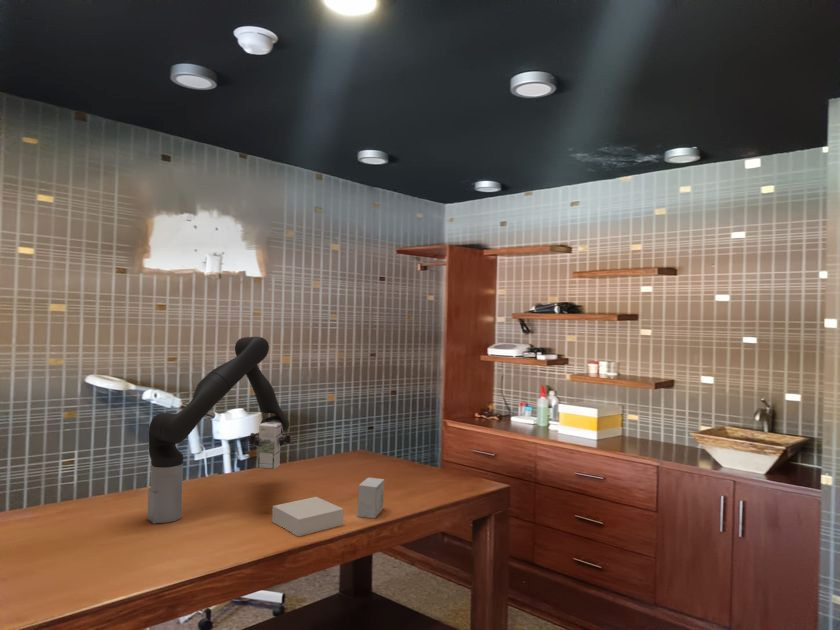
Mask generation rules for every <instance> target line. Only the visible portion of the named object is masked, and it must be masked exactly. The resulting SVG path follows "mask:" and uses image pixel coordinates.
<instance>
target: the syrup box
mask: <svg viewBox="0 0 840 630" xmlns="http://www.w3.org/2000/svg"><path fill="white" fill-rule="evenodd" d="M258 435H259V446H258V453H257V454H258V458H257V468H258V469H264V470H275V469H277V468H278V467H279V466H280V465H281V463H280V462H281V459H280V457H281V446H280V437H281V423H268V422H265V423H262V424H261V423H260V424H259V426H258Z"/></svg>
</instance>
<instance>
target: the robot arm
mask: <svg viewBox="0 0 840 630" xmlns="http://www.w3.org/2000/svg"><path fill="white" fill-rule="evenodd" d="M269 351H270V345H269V342H268V341H267V339H265V338H264V337H261V336H247V337H241V338H239V339H238V340H237V341H236V343H235V346H234V353H235V357H234V358H232V359H230V360H229V361H227V362H225V363H223V364H221V365H219V366H217V367H216V368H214V369H212V370H211V371H210V372H208V373H207V374H206V376H204V377H203V378H202V379H201V380H200V381H199V382H198V383H197V386H196V388H195V390H194V392H193V396H192V399H191V401H189V403H188V404H187V405H186V406H185V407H184V408H182V409H181V410H180V411H178V412H177V413H171V412H160V413H157V414H156V415H154V416H153V418H152V419H151V421H150V423H149V428H148V455H149V457H150V460H151V467H150V469H151V470H150V487H149V488H148V490H147V491H148V492H147V493H148V494H147V518H146V519H147V520H148V521H150V522H151V523H152V524H154V525H155V524H164V523H165V524H166V523H167V524H168V523H172V522H176V521H178V520H180V519H181V518H182V508H183V507H182V503H183V501H182V500H183V475H184V454H183V453H182V452H181V451H180V450H179V449H178V448H177V446H176V445H177V444H179V443H181V442H183V441H185V440H186V439H187V438H188V436H189V435H190V434H191V433H192V432H193V430H194V429H195V428H196V427H197V425H198V424H199V423H200V422H201V420H203V418H204V417H205V416H206V415H207V414H208V413H209V412H210V411H211V410H212V408H214V407H215V406H216V405H217V404H218V403H219V402H220V401H221V400H222V399H223V398H224V397H225V396H226V395H227V394H228V393H229V392H230V391H231V389H232V388H233V387H235V386H236V384H237V383H239V382H240V381H241V380H242V379H243V378H244V377H245V376H246V377H247V379H248V381H249V384H250V385H251V387H252V391H253V393H254V395H255V398H256V401H257V405H258V408H259V411H260V412H261V413H262V414H273V415H271V416H268V417H266V418H265V417H264V418H263V419H262V420H261V421H260V424H262V423H265V422H268V423H281V437H280V447H282V445H285V444H291V442H292V432H288V433H286V435H285V434H284V432H287V431H288V430H289V427H290V421H289V419H288V417H287V416H286V414H285V413H284V411H283V410H282V409H281V406H280V404H279V401H278V399H277V396H276V393H275V389H274V388H273V386H272V384H271V382H270V381H269V380H268V378H267V377H266V376H265V375H264V374H263V372H262V370H261V369H260V368H259V364H260V363H261V362H262V361H264V360H265V359H266V358H267V356H268V353H269ZM249 438H250V439H249V444H250V445H253V444H254V445H256V447H259V434H258V435H256V433H254V432H251V433H250V437H249Z"/></svg>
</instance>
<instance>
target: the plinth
mask: <svg viewBox="0 0 840 630" xmlns="http://www.w3.org/2000/svg"><path fill="white" fill-rule="evenodd" d="M271 520H272V523H274V524H276V525H278V526H279V527H280V528H282V527H283V529H284V528H285V529H284V530H285V531H287V532H289V531H290V533H291V534H293V535H294V536H297V537H303V536H306V535H310V534H312V533H317V532H322V531H325V530H328V529H333V528H336V527H340V526H343V525H344V508H342V507H340V506H338V505H337V504H334V503H331V502H329V501H326V500H324V499H323V498H320V497H318V496H313V497H309V498H305V499H300V500H295V501H289V502H285V503H281V504H280V503H279V504H276V505H272V519H271Z"/></svg>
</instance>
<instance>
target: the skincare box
mask: <svg viewBox="0 0 840 630" xmlns="http://www.w3.org/2000/svg"><path fill="white" fill-rule="evenodd" d="M384 491H385V479H384V478H375V477H367V478H366V479H364V480H363V481H362V482H361V483H360V484H358V494H357V496H358V497H357V498H358V499H357V511H356V512H357V513H356V517H358V518H369V519H376V517H378V515H379V514H381V512H382V511H383V510H384Z"/></svg>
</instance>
